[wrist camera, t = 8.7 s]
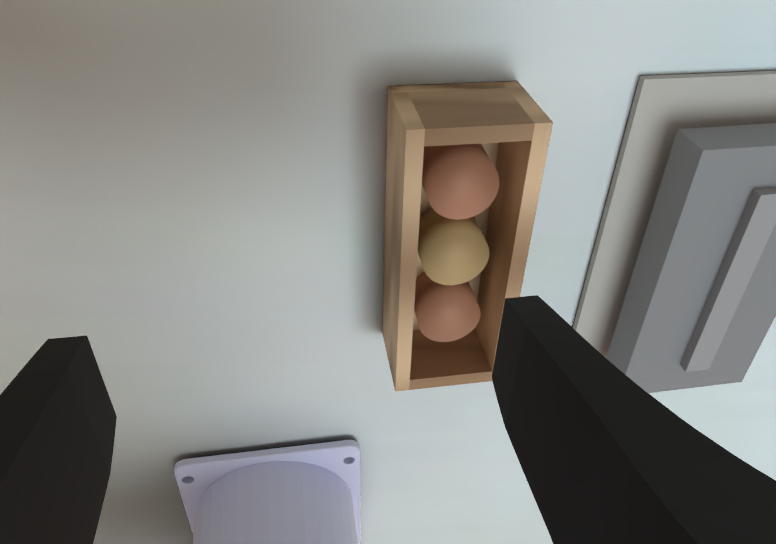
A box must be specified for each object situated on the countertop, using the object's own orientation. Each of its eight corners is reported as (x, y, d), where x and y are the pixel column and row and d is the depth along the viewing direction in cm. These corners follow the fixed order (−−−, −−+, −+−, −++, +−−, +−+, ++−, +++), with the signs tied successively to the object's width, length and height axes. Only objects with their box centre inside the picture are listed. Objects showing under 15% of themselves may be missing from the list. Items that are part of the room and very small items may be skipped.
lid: (713, 346, 28) (747, 389, 26) (596, 359, 28) (622, 404, 26) (819, 112, 22) (875, 145, 20) (668, 121, 21) (710, 156, 19)
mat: (721, 364, 30) (725, 369, 29) (557, 382, 29) (560, 387, 28) (865, 66, 21) (872, 70, 21) (639, 76, 20) (644, 79, 20)
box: (481, 324, 26) (503, 379, 23) (382, 333, 25) (395, 391, 23) (517, 81, 19) (552, 122, 17) (387, 86, 19) (406, 130, 17)
